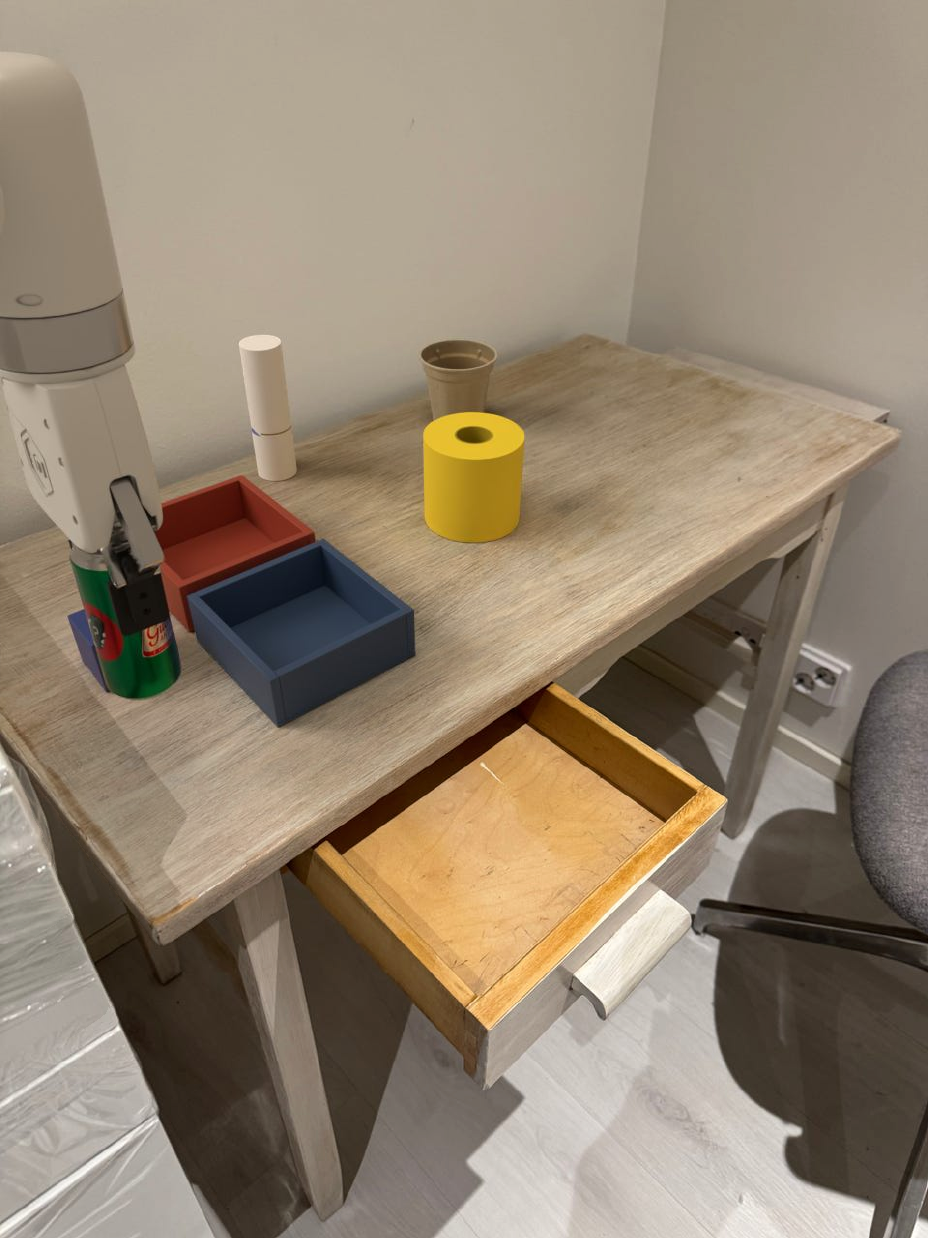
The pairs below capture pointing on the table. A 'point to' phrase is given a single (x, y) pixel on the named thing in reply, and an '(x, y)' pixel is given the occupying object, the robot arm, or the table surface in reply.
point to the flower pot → (457, 375)
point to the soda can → (126, 661)
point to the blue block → (86, 645)
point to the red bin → (221, 538)
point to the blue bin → (302, 629)
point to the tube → (268, 406)
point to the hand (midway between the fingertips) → (125, 602)
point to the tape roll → (472, 476)
